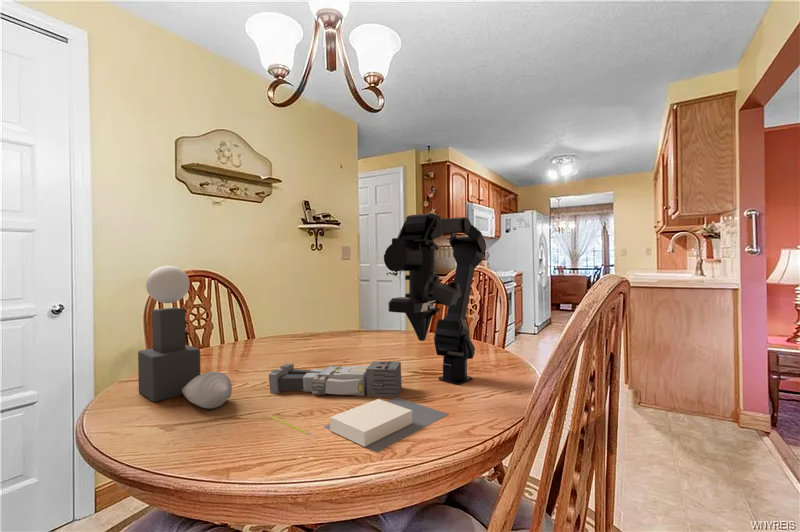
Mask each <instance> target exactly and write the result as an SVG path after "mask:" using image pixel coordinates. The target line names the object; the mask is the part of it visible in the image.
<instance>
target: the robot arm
mask: <svg viewBox="0 0 800 532" xmlns="http://www.w3.org/2000/svg"><path fill="white" fill-rule="evenodd" d="M463 233H465V235H466V236H458V237H457V235H456V234H463ZM443 234H449V235H450V237H449V238H450V239H449V245H450V247H451V248H452V255H453V258H454V261H455V263H456V267H455V272H454V277H453V281H450V282H449V283H448V284H447V283H442V282H440V276H439V274H436V273H435V271H436V270H435V269H436V265H435V264H436V263H435V261H436V259H435V257H436V255H435V252H436V251H438V250H439V246H438V245H437V244H436V243H435V241H434V240H436V239H438V238H440V237H441V236H442V235H443ZM486 250H487V243H486V240H485V238H484V236H483V233H482V232H481V230H480V229H478V228H477V227H476V226H475V225H473V224H472V222H471V221H470V219H469V218H468V217H465V216H461V217H460V216H459V217H451V218H450V217H449V218H448V217H447V218H446V217H445V218H442V217H441V215H439V214H436V213H432V212H430V213H420V214H418V213H417V214H409V215H406V218H405V221H404V222H403V224H402V227H401V228H400V231H399V233H398V235H397V237H394V238H393V237H392V238H391V244H389V246H387V248H386V250H385V251H384V254H383V262H384V264H385V267H386V268H387V269H388V270H390V271H391V272H408V274H405V275H404V276H405V278H404V280H405V281H408V291H409V292H407V293H405V296H398V297H393V298H391V299H390V300H389V301H388V302H387V303H388V312H389V313H398V314H399V313H401V314H402V313H403V314H405V315H406V317H407V318H408V321H409V322H410V324H411V326H412V328H413V330H414V332H415V334H416V336H417V339H418V340H419V341H420V342H424V341H426V338H427V334H428V331H429V327H430V324H431V321H432V320H433V319H432V318H433V317H434V315H436V313H437V312H440V310H441V308H438V307H436V305H443V306H445V307H448V308H447V313H446V315H445V316H444V317H443V319H442V318H441V319H440V318H439V319H438V321H437V322H436V328H435V331H434V337H433V343H434V348H435V353H436V356H441V357H442V361H443V363H442V376H439V377H438V380H439V381H443V382H447V383H451V384H454V385H462V384H465V383H466V382H469V381H471V380H473V376H470V375H468V360H470V359H471V360H472V359H474V356H475V353H476V352H475V349H476V348H475V345H474V344H473V342H472V340H471V338H470V329H469V326H468V323H467V322H466V319H467V318H466V317H467V312H468V306H469V301H470V296H471V290H472V285H473V279H474V273H475V269H476V268H477V267H478V266H479V265H480V264H481V263H482V261H483V258H484V253H485V252H486ZM435 304H436V305H435Z"/></svg>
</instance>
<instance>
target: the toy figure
mask: <svg viewBox="0 0 800 532" xmlns="http://www.w3.org/2000/svg"><path fill="white" fill-rule="evenodd" d="M401 364H402V362H401V361H381V360H380V361H379V360H377V361H375V360H374V361H372V362H371V364H369V365H367V366H366V365H350V366H346V367H345V366H338V365H332V364H331V365H329V366H328V367H326V368H324V369H323V368H314V369H299V368H298V369H297V368H295V364H294V363H286V364H283V365H280V368H275V369H274V370H272V371H271V372H270V373H268V381H269V382H268V384H269V393H270V394H280V393H281V392H283V391H303V392H311V394H312V395H326V394H330V395H340V396H341V395H344V396H345V395H346V396H360V397H361V396H367V397H378V398H380V397H381V398H393V399H394V398H397V397H398V396H399V394H400V392H401V390H402V387H403V386H402V385H403V384H402V365H401ZM280 391H281V392H280Z"/></svg>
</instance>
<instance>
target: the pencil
mask: <svg viewBox="0 0 800 532" xmlns="http://www.w3.org/2000/svg"><path fill="white" fill-rule="evenodd" d="M267 417H268V418H270V419H271V420H274V421H275V422H278V423H281V424H283V425H285V426H286V427H289V428H290V429H293V430H295V431H297V432H300V433H302V434H304V435H306V436H313V434H312V433H311V432H310V431H308V430H305V429H303V428H301V427H299V426H296V425H294V424H292V423H289V422H288V421H285V420H283V419H281V418H278V417H277V416H274V415H273V414H269V415H268V416H267Z"/></svg>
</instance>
